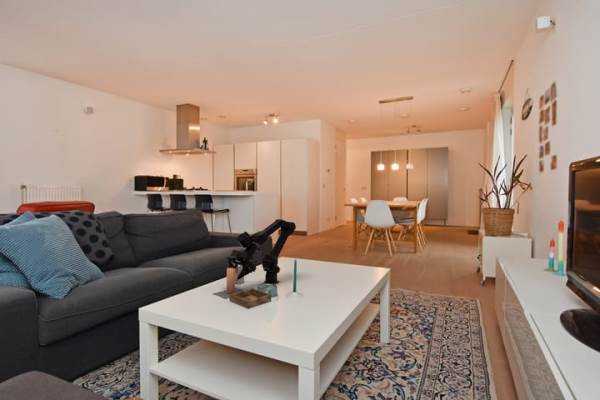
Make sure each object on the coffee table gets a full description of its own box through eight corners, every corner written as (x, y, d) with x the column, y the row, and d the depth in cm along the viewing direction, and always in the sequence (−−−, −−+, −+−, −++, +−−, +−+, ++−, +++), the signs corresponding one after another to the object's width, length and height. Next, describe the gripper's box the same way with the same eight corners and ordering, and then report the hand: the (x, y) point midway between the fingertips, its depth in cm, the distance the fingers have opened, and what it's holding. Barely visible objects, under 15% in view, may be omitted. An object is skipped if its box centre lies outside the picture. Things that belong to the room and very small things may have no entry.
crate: (252, 295, 162) (252, 288, 162) (271, 302, 152) (271, 294, 152) (229, 301, 152) (229, 294, 151) (247, 309, 142) (247, 302, 142)
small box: (227, 282, 183) (227, 264, 182) (233, 280, 188) (233, 262, 187) (238, 284, 179) (238, 266, 179) (244, 282, 184) (244, 264, 183)
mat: (235, 288, 172) (235, 287, 172) (248, 293, 164) (248, 292, 164) (212, 294, 161) (212, 293, 161) (225, 300, 154) (225, 298, 154)
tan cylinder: (234, 291, 165) (234, 267, 165) (235, 293, 161) (235, 269, 161) (226, 291, 164) (226, 267, 164) (227, 294, 160) (227, 269, 160)
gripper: (229, 241, 172) (211, 265, 165) (252, 246, 160) (234, 272, 152) (240, 253, 179) (224, 277, 171) (263, 259, 167) (247, 284, 159)
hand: (231, 277), depth 163 cm, fingers open, 9 cm apart
